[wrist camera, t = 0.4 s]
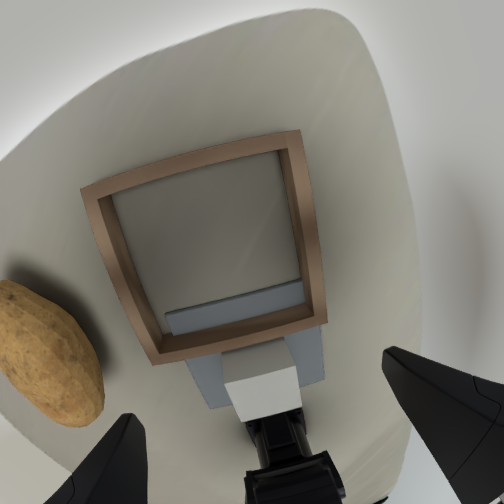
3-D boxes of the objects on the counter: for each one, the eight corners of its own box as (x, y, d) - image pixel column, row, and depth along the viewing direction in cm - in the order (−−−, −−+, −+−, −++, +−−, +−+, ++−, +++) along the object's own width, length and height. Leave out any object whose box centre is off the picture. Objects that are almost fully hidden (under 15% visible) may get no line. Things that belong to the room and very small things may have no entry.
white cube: (287, 367, 24) (302, 406, 20) (234, 380, 24) (241, 422, 19) (278, 325, 22) (295, 365, 18) (219, 340, 22) (224, 383, 17)
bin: (316, 306, 23) (327, 322, 21) (156, 346, 22) (152, 365, 20) (288, 132, 18) (300, 129, 16) (94, 184, 17) (80, 189, 15)
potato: (39, 233, 17) (-22, 272, 10) (139, 361, 22) (124, 431, 15) (-9, 286, 18) (-54, 328, 10) (78, 389, 23) (57, 446, 15)
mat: (323, 376, 26) (324, 379, 26) (209, 406, 25) (209, 409, 25) (313, 275, 22) (314, 277, 21) (165, 313, 21) (164, 315, 21)
